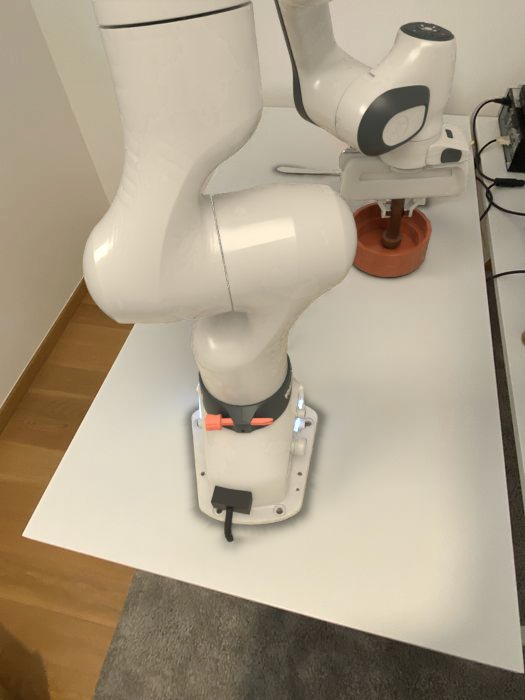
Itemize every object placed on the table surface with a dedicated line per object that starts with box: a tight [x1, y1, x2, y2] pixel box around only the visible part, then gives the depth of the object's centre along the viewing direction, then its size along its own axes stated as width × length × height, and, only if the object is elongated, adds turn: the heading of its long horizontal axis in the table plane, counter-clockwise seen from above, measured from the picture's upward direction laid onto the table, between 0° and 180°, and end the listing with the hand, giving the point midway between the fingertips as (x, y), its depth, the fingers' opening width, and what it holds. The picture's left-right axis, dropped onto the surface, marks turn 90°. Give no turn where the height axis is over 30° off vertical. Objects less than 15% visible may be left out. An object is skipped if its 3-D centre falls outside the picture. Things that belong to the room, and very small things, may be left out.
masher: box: [381, 199, 405, 248], centre depth 87 cm, size 4×4×12 cm
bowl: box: [352, 200, 433, 278], centre depth 91 cm, size 14×14×6 cm
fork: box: [276, 166, 341, 175], centre depth 107 cm, size 3×24×2 cm, turn 72°
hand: (395, 215), depth 87 cm, fingers closed on masher, 2 cm apart
